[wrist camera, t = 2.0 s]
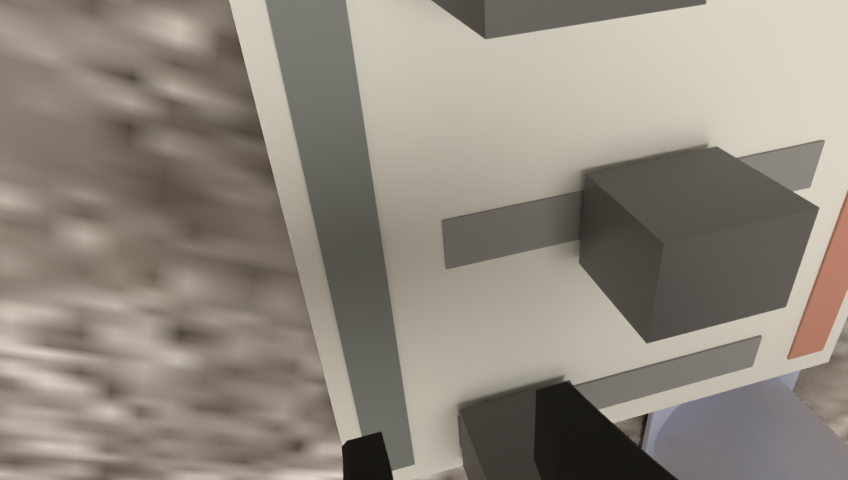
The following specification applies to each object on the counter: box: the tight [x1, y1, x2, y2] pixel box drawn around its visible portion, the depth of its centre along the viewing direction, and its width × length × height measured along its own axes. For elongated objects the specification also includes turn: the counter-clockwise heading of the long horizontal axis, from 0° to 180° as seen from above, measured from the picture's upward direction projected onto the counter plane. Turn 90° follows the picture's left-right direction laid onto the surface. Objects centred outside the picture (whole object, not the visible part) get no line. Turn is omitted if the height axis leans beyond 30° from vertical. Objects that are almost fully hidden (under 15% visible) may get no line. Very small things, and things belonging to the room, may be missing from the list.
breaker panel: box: [229, 0, 848, 480], centre depth 17 cm, size 20×20×7 cm
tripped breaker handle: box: [579, 146, 820, 344], centre depth 16 cm, size 3×4×4 cm
